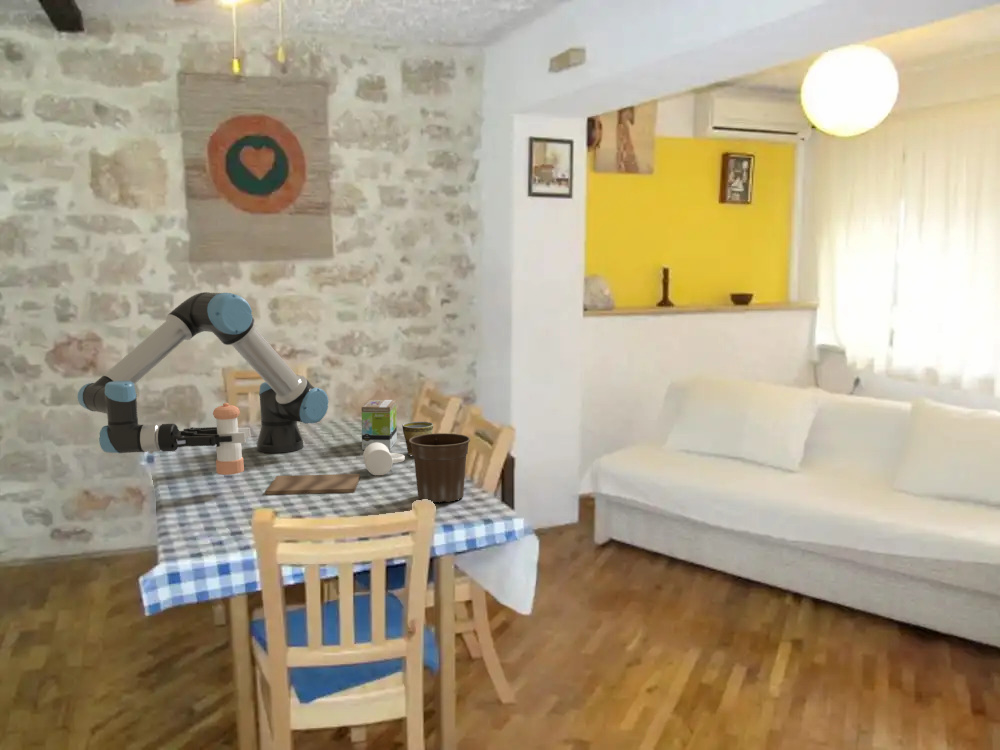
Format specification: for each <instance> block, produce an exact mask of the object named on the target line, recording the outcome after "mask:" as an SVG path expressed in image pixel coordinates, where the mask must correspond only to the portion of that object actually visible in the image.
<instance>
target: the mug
mask: <svg viewBox="0 0 1000 750" xmlns="http://www.w3.org/2000/svg"><path fill="white" fill-rule="evenodd" d="M362 455H363V461H364V464H365V468H366V470H367V471H368V472H369V473H370V474H371V475H374V476H376V475H382V476H385V475H386V474H388V473H389V472H390V471H391V470H392V467H393V465H394V464H397V463H402V462H404V461H405V460H406V459H405V458H406V456H405V455H404V454H402V453H395V452H394V453H393V452H390V450H388V448H387V447H386V446H385V445H384V444H382V443H378V442H376V443H372V444H370V445H368V446H367V447H366V449H365V450H364V451H363V454H362Z"/></svg>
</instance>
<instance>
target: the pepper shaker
mask: <svg viewBox="0 0 1000 750" xmlns="http://www.w3.org/2000/svg"><path fill="white" fill-rule="evenodd" d="M240 414H241V411H240V409H239V408H238V406H235V405H233V404H230V403H228V402H224V403H222V405H219V406H216V407H215V408H214V409H213V412H212V415H213V417H214V419H216V427H217V434H219V436H220V433H238V428H239V426H238V424H239V423H238V417H239V416H240ZM215 449H216V460H215V468H216V474H218V475H224V476H225V475H227V476H229V475H236V474H240V473H243V472H244V471H245V466H244V465H245V464H244V457H243V455H242V453H243V451H242V443H224V444H221V443H220V446H219V447H216V446H215Z"/></svg>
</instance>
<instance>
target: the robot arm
mask: <svg viewBox="0 0 1000 750" xmlns="http://www.w3.org/2000/svg"><path fill="white" fill-rule="evenodd" d="M252 311H253V310H252V307H251V305H250V304H249V302H248V301H247V299H245V298H244V297H242V296H241V295H238V294H235V293H231V292H207V291H206V292H205V291H204V292H199V293H195V294H194V295H191V296H190V297H188V298H187V299H186V300H184V301H183V302H182V303H180V304H178V306H177V307H175V308H174V309H173V310H172V311H170V312H169V313H168V314H167V315H166V316H165V322H163V323H162V324H161V325H159V327H157V328H156V329H155V330H154V331H153V332H152V333H151V334H149V335H148V336H147V337H146V338H144V340H142V341H141V342H140V343H139V344H138V345H137V346H136V347H134V348H133V349H132V350H131V351H130V352H129V353H128V354H126V355H125V356H124V357H122V359H120V360H119V361H118V362H117V363H116V364H115V365H114V366H112V367H111V369H109V370H108V371H107V372H106V373H105V374H103V375H102V376H101V377H100V378H99V379H98V380H96V381H95V382H90V383H86V384H84V385H82V386H81V387H80V388H79V390H78V393H77V401H78V403H79V405H80V406H81V407H82V408H84V409H86V410H89V411H91V412H97V413H102V414H106V415H107V417H106V418H107V424H106V425H103V426H102V427H101V428H100V430H99V431H100V432H99V437H98V443H99V447H100V448H101V450H102V451H103V452H104V453H106V454H107V453H109V454H110V453H111V454H113V453H115V454H125V453H126V454H128V453H145V452H146V453H148V452H149V454H150V455H153V454H154V452H157V453H158V452H162V453H163V452H176V451H177V449H178V448H183V447H184V448H185V447H207V446H208V447H209V446H210V447H214V446H215V448H216V447H219V446H220V443H221V444H224V443H241V444H245V443H246V439H248V438H249V439H250V438H251V437H252V435H251V428H250V427H238V433H220V436H219V434H217V426H210V427H209V426H208V427H190V428H183V430H179V427H178V425H177V424H175V423H162V424H160V423H150V424H149V423H148V424H139V420H138V406H137V405H138V403H137V402H138V401H137V392H136V385H135V384H137V382H138V383H139V381H141V379H142V378H143V377H144V376H145V375H147V374H148V373H149V372H150V371H151V370H153V368H155V367H156V366H157V365H158V364H159V363H160V362H161V361H162V360H164V359H165V358H166V357H167V356H168V355H169V354H171V352H173V351H174V350H175V349H176V348H177V347H178V346H179V345H180V344H182V343H183V342H184V341H190V340H191V339H192V338H194V336H196V335H198V334H201V333H202V332H208V333H213V334H214V335H215V336H216V337H217V339H218V340H219V341H221V343H223V345H225V346H232V347H233V348H234V349H235V351H237V353H239V355H240V356H241V357H242V358H243V359H244V360H245V361H246V362H247V364H248V365H250V366H251V368H253V370H254V371H255V372H256V373H257V374H258V375H259V376H260V377H261V379H262V380H263V381H264V382H261V383H260V385H259V394H258V395H259V406H260V423H261V427H260V430H259V434H258V438H257V441H256V450H257V451H259V452H261V453H267V454H268V453H270V454H274V453H275V454H279V453H280V454H282V453H289V452H294V451H299V450H301V449H303V448H304V439H303V437H302V434H301V431H300V429H299V426H298V423H303V424H317V423H319V422H321V421H322V420H323V418H324V417H325V416H326V415H327V412H328V408H329V397H328V394H327V392H326V391H325V390H324V389H322V388H319V387H314V386H313V384H311V382H310V381H309V380H308V379H307V378H306V377H305V376H304V375H297V374H296V373H295V371H294V370H293V369H292V368H291V367H290V366H289V365H288V363H287V362H286V361H285V360H284V359H283V358H282V357H281V356H280V354H279V353H278V352H277V350H275V349H274V348H273V346H272V345H270V343H269V342H268V341H267V340H266V339H265V338H264V337H263V335H262V334H261V333H260V331H258V329H257V328H256V327H255V319H254V317H253V314H252Z"/></svg>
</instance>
